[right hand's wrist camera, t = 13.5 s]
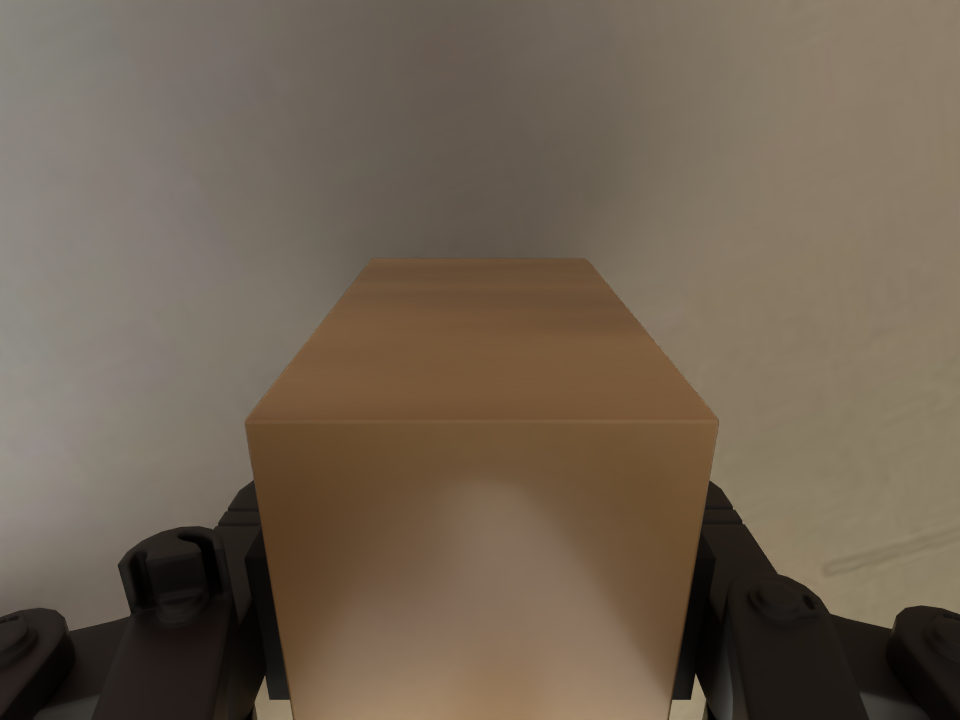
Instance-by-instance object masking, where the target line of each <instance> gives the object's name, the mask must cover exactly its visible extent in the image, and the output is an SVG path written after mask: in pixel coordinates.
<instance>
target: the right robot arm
mask: <svg viewBox="0 0 960 720" xmlns="http://www.w3.org/2000/svg"><path fill="white" fill-rule="evenodd" d="M118 568H119V572H120V575H121V579H122V582H123V586H124V589H125V593H126V597H127V600H128V604H129V607H130V611H131V614H130V616H129V617H126V618H122V619H119V620H116V621H112V622H108V623H103V624H99V625H95V626H91V627H86V628H82V629H78V630H73V631H69V629H68V626H67V623H66V620H65V618H64V617H63V616H62V615H61V614H59V613H58V612H57V611H56V610H50V609H44V608H35V609H28V610H21V611H17V612H14V613H11V614H8V615H6V616H3V617H0V720H257V714H256V708H255V703H254V702H255V699H256V696H257V694H258V691H259V689H260V686H261V684H262V681H263V679H264V676H265V677H266V682H267V688H268V693H269V699H270V700H290V697H289V691H288V684H287V678H286V672H285V666H284V660H283V654H282V648H281V642H280V636H279V630H278V624H277V617H276V611H275V605H274V599H273V593H272V587H271V581H270V575H269V569H268V563H267V557H266V550H265V544H264V538H263V532H262V526H261V520H260V514H259V508H258V502H257V496H256V489H255V483H254V480H253V481H252V482H251V483H249V484H248V485H247V486H245V487H244V488H243V489H241V490H240V491H239V492H238V494H237V495H236V497H235V498H234V500H233V501H232V503H231V504H230V506H229V507H228V512H225V513H224V515H223V516H222V518H221V519H220V521H219V522H218V526H216V527H215V529H214V530H212V529H208V528H204V527H200V526H193V527H179V528H175V529H171V530H167V531H163V532H160V533H158V534H156V535H154V536H152V537H149V538H147V539H145V540H143V541H141V542H140V543H139V544H137V545H136V546H135V547H133V548H132V549H131V550H129V551H128V552H127V553H126V554H125V556H124V557H123V558H122V560H121V561H120V563H119V564H118ZM695 673H696V675H697V677H698V680H699V682H700V685H701V687H702V690H703V693H704V695H705V698H706V703H705V708H704V713H703V719H702V720H960V614H957V613H954V612H951V611H948V610H945V609H943V608H936V607H929V606H922V605H921V606H915V607H908V608H905V609H904V610H903V611H901V612H900V613H899V614H898V615H897V616H896V619H895V622H894V625H893V628H892V629H889V628H884V627H880V626H876V625H872V624H867V623H863V622H859V621H854V620H850V619H846V618H843V617H839V616H836V615H833V614H830V613H829V611H828V610H827V608H826V607H825V605H824V604H823V602H822V600H821V599H820V598H819V597H818V596H817V595H815V594H814V593H813V592H812V591H811V590H810V589H808V588H807V587H806V586H804V585H802V584H800V583H798V582H796V581H795V580H793V579H791V578H789V577H786V576H783V575H779V574H778V573H777V572H776V570H775V569H774V567H773V566H772V564H771V563H770V561H769V560H768V558H767V557H766V555H765V554H764V552H763V551H762V549H761V548H760V546H759V545H758V543H757V542H756V540H755V539H754V537H753V536H752V534H751V533H750V531H749V530H748V528H747V527H746V525H745V524H742V519H741V518H740V516H739V515H738V513H737V512H736V510H733V506H732V504H731V503H730V501H729V500H728V498H727V497H726V495H725V494H724V492H723V491H722V489H721V488H719V487H718V486H716V485H715V484H714V483H712V482H711V481H710V480H709V485H708V491H707V496H706V502H705V508H704V514H703V520H702V526H701V532H700V538H699V544H698V550H697V556H696V562H695V567H694V573H693V579H692V585H691V591H690V597H689V603H688V609H687V615H686V621H685V627H684V633H683V638H682V644H681V650H680V656H679V662H678V668H677V674H676V680H675V686H674V692H673V698H672V700H691V695H692V690H693V684H694V679H695Z"/></svg>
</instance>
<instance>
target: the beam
mask: <svg viewBox="0 0 960 720" xmlns="http://www.w3.org/2000/svg"><path fill="white" fill-rule="evenodd" d="M718 426H719V421H718V418H717V417H716V416H715V415H714V413H713V412H712V411H711V410H710V408H709V407H708V406H707V405H706V404H705V402H704V401H703V400H702V399H701V397H700V396H699V395H698V394H697V393H696V391H695V390H694V389H693V388H692V386H691V385H690V384H689V383H688V382H687V380H686V379H685V378H684V377H683V375H682V374H681V373H680V372H679V371H678V369H677V368H676V367H675V366H674V365H673V363H672V362H671V361H670V360H669V358H668V357H667V356H666V355H665V354H664V352H663V351H662V350H661V349H660V347H659V346H658V345H657V344H656V343H655V341H654V340H653V339H652V338H651V336H650V335H649V334H648V333H647V332H646V330H645V329H644V328H643V327H642V325H641V324H640V323H639V322H638V321H637V319H636V318H635V317H634V316H633V314H632V313H631V312H630V311H629V310H628V308H627V307H626V306H625V305H624V303H623V302H622V301H621V300H620V299H619V297H618V296H617V295H616V294H615V292H614V291H613V290H612V289H611V288H610V286H609V285H608V284H607V283H606V281H605V280H604V279H603V278H602V277H601V275H600V274H599V273H598V272H597V270H596V269H595V268H594V267H593V266H592V264H591V263H590V262H589V261H588V259H586V258H373V259H371V261H370V262H369V263H368V264H367V266H366V267H365V268H364V269H363V271H362V272H361V273H360V275H359V276H358V277H357V278H356V280H355V281H354V282H353V283H352V285H351V286H350V287H349V288H348V290H347V291H346V292H345V294H344V295H343V296H342V297H341V299H340V300H339V301H338V302H337V304H336V305H335V306H334V308H333V309H332V310H331V311H330V313H329V314H328V315H327V316H326V318H325V319H324V320H323V322H322V323H321V324H320V325H319V327H318V328H317V329H316V330H315V332H314V333H313V334H312V336H311V337H310V338H309V339H308V341H307V342H306V343H305V344H304V346H303V347H302V348H301V350H300V351H299V352H298V353H297V355H296V356H295V357H294V358H293V360H292V361H291V362H290V363H289V365H288V366H287V367H286V369H285V370H284V371H283V372H282V374H281V375H280V376H279V377H278V379H277V380H276V381H275V383H274V384H273V385H272V386H271V388H270V389H269V390H268V391H267V393H266V394H265V395H264V397H263V398H262V399H261V400H260V402H259V403H258V404H257V405H256V407H255V408H254V409H253V411H252V412H251V413H250V414H249V416H248V417H247V418H246V420H245V429H246V435H247V441H248V447H249V453H250V459H251V465H252V471H253V477H254V483H255V489H256V496H257V502H258V508H259V514H260V520H261V526H262V532H263V538H264V544H265V550H266V557H267V563H268V569H269V575H270V581H271V587H272V593H273V599H274V605H275V611H276V617H277V624H278V630H279V636H280V642H281V648H282V654H283V660H284V666H285V672H286V678H287V684H288V691H289V697H290V703H291V709H292V715H293V720H669V715H670V709H671V704H672V698H673V692H674V686H675V680H676V674H677V668H678V662H679V656H680V650H681V644H682V638H683V633H684V627H685V621H686V615H687V609H688V603H689V597H690V591H691V585H692V579H693V573H694V567H695V562H696V556H697V550H698V544H699V538H700V532H701V526H702V520H703V514H704V508H705V502H706V496H707V491H708V485H709V479H710V473H711V467H712V461H713V455H714V449H715V443H716V437H717V431H718Z"/></svg>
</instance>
